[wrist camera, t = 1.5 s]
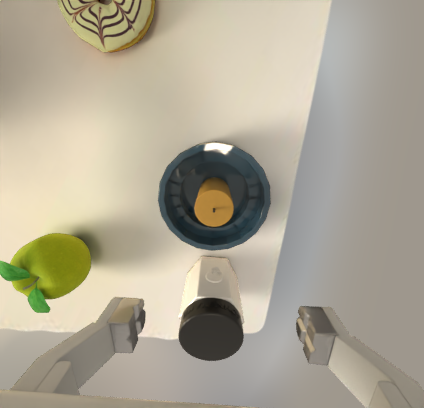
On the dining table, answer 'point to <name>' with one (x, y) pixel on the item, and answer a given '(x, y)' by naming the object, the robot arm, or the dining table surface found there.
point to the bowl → (238, 185)
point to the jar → (211, 311)
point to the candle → (214, 202)
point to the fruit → (48, 268)
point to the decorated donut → (109, 21)
